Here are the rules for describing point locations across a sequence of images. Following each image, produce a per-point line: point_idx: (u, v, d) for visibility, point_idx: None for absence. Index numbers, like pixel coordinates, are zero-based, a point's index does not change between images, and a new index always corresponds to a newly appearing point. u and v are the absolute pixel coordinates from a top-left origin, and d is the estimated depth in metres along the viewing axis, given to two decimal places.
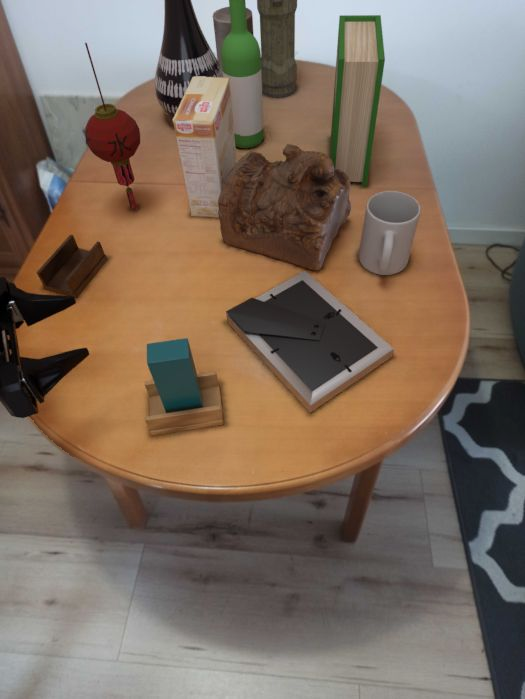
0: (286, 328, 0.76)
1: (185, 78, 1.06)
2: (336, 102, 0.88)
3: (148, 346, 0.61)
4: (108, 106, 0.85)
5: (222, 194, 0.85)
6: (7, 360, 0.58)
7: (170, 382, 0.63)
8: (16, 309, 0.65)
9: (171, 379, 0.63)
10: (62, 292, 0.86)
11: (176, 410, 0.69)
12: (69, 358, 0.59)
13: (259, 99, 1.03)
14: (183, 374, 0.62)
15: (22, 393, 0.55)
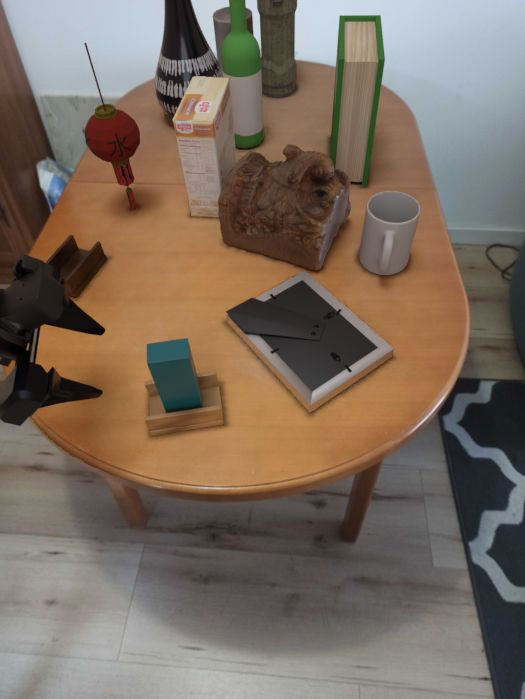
0: (286, 328, 0.76)
1: (185, 78, 1.06)
2: (336, 102, 0.88)
3: (148, 346, 0.61)
4: (108, 106, 0.85)
5: (222, 194, 0.85)
6: (32, 359, 0.52)
7: (170, 382, 0.63)
8: None
9: (171, 379, 0.63)
10: None
11: (176, 410, 0.69)
12: (85, 392, 0.55)
13: (259, 99, 1.03)
14: (183, 374, 0.62)
15: (37, 405, 0.49)
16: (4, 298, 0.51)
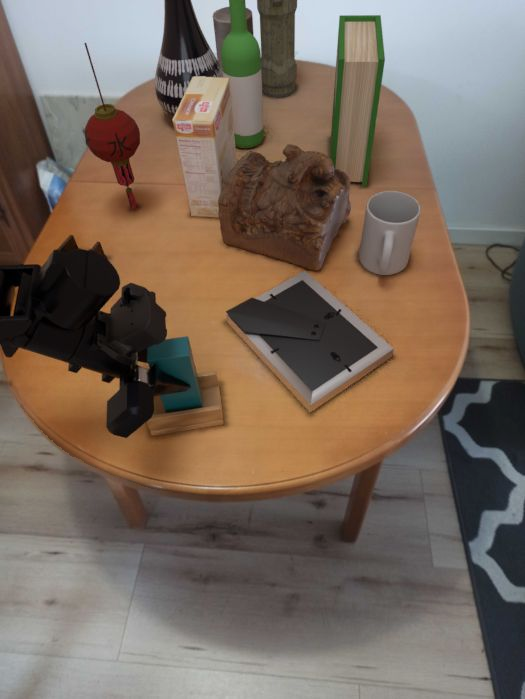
0: (286, 328, 0.76)
1: (185, 78, 1.06)
2: (336, 102, 0.88)
3: None
4: (108, 106, 0.85)
5: (222, 194, 0.85)
6: (136, 356, 0.59)
7: None
8: None
9: None
10: None
11: (176, 410, 0.68)
12: (177, 386, 0.62)
13: (259, 99, 1.03)
14: (183, 372, 0.62)
15: (146, 420, 0.55)
16: (113, 322, 0.56)
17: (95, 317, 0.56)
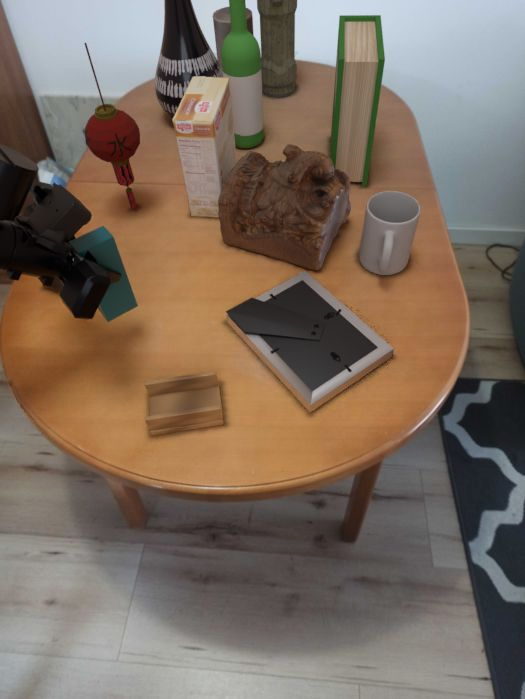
0: (286, 328, 0.76)
1: (185, 78, 1.06)
2: (336, 102, 0.88)
3: (71, 242, 0.65)
4: (108, 106, 0.85)
5: (222, 194, 0.85)
6: None
7: None
8: None
9: None
10: None
11: (113, 309, 0.73)
12: (111, 274, 0.67)
13: (259, 99, 1.03)
14: (112, 259, 0.67)
15: (106, 288, 0.59)
16: (36, 219, 0.59)
17: (16, 220, 0.58)
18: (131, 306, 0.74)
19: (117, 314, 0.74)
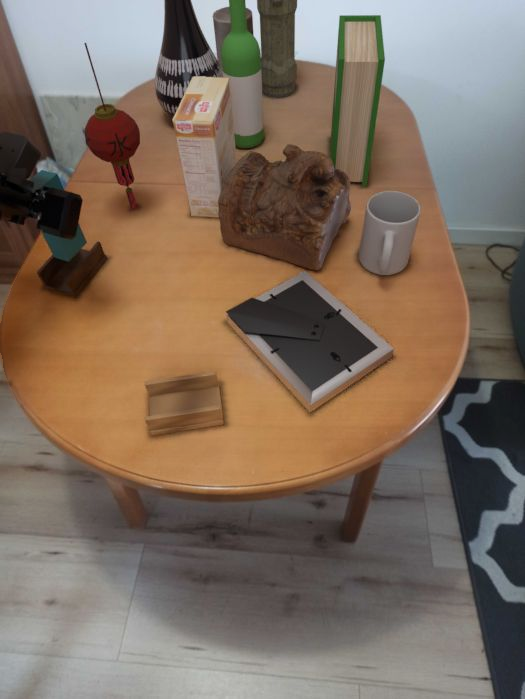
0: (286, 328, 0.76)
1: (185, 78, 1.06)
2: (336, 102, 0.88)
3: None
4: (108, 106, 0.85)
5: (222, 194, 0.85)
6: None
7: None
8: None
9: None
10: (62, 292, 0.86)
11: (70, 248, 0.81)
12: None
13: (259, 99, 1.03)
14: None
15: (80, 205, 0.69)
16: None
17: None
18: (82, 243, 0.83)
19: (74, 252, 0.82)
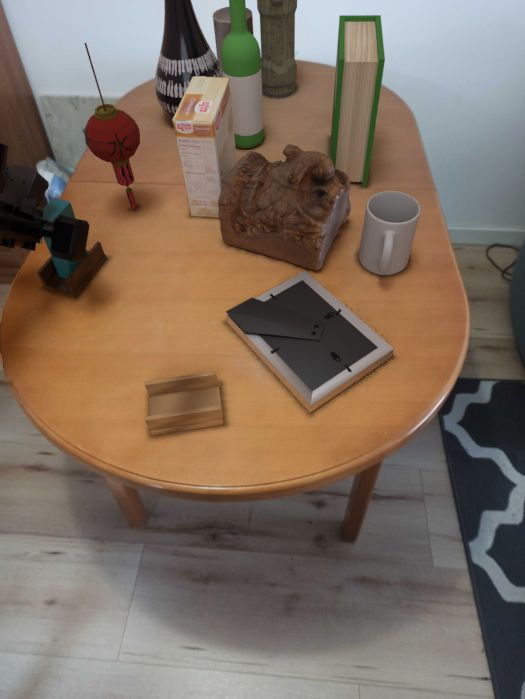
0: (286, 328, 0.76)
1: (185, 78, 1.06)
2: (336, 102, 0.88)
3: None
4: (108, 106, 0.85)
5: (222, 194, 0.85)
6: None
7: None
8: None
9: None
10: (62, 292, 0.86)
11: None
12: None
13: (259, 99, 1.03)
14: None
15: (88, 230, 0.74)
16: (7, 196, 0.71)
17: None
18: None
19: None
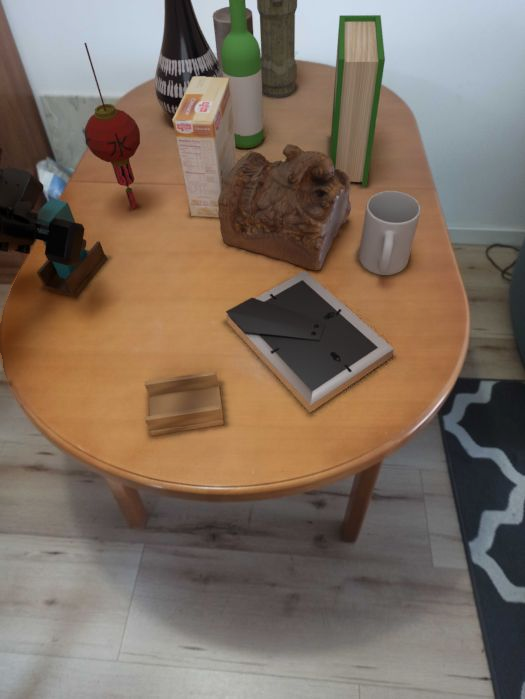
0: (286, 328, 0.76)
1: (185, 78, 1.06)
2: (336, 102, 0.88)
3: None
4: (108, 106, 0.85)
5: (222, 194, 0.85)
6: None
7: None
8: None
9: None
10: (62, 292, 0.86)
11: None
12: None
13: (259, 99, 1.03)
14: None
15: (83, 233, 0.73)
16: (1, 199, 0.70)
17: None
18: None
19: None
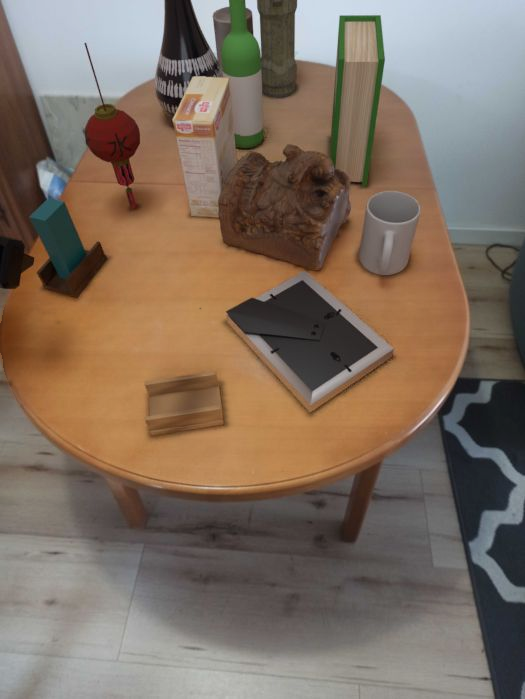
0: (286, 328, 0.76)
1: (185, 78, 1.06)
2: (336, 102, 0.88)
3: (32, 216, 0.77)
4: (108, 106, 0.85)
5: (222, 194, 0.85)
6: None
7: (63, 237, 0.81)
8: None
9: (62, 232, 0.80)
10: (62, 292, 0.86)
11: None
12: (27, 256, 0.69)
13: (259, 99, 1.03)
14: (67, 222, 0.81)
15: (23, 251, 0.63)
16: None
17: None
18: None
19: None
